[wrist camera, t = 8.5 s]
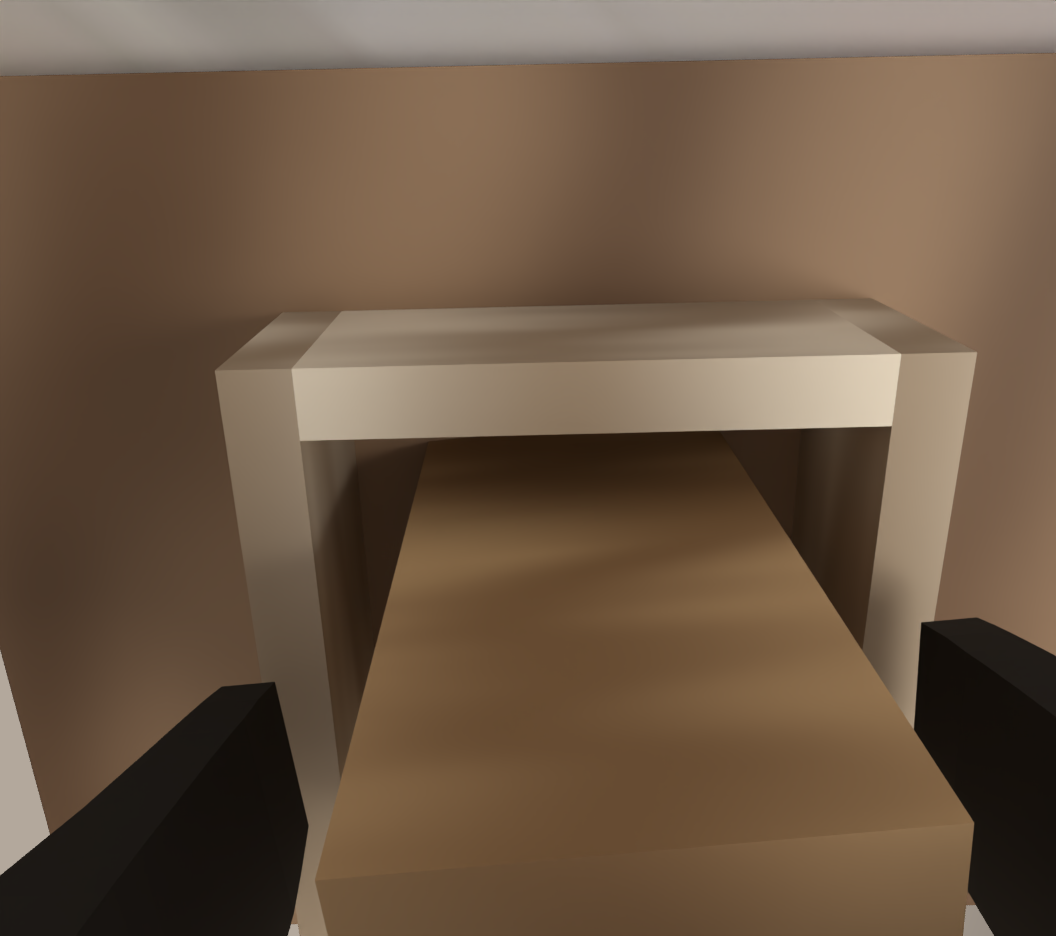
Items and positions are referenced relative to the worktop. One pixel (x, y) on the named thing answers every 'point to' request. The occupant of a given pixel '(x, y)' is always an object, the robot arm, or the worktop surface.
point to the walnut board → (497, 353)
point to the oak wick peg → (626, 717)
